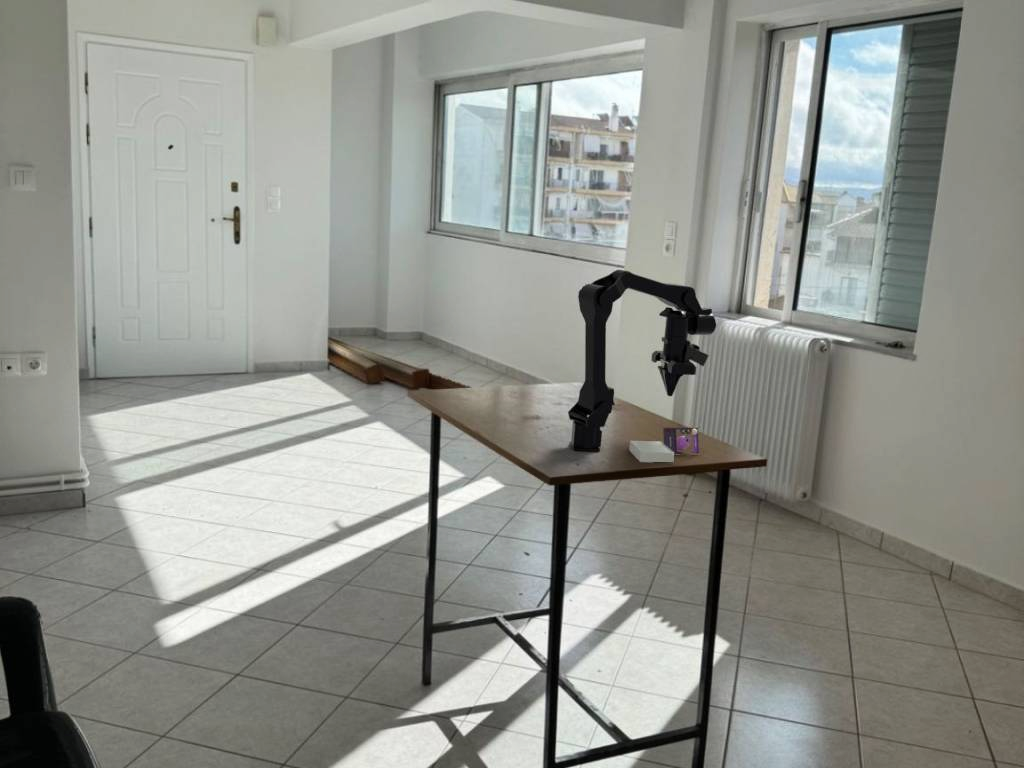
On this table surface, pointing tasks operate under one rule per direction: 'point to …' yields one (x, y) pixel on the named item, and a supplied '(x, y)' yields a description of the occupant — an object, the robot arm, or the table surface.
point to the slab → (651, 451)
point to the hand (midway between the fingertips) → (669, 395)
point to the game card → (680, 439)
